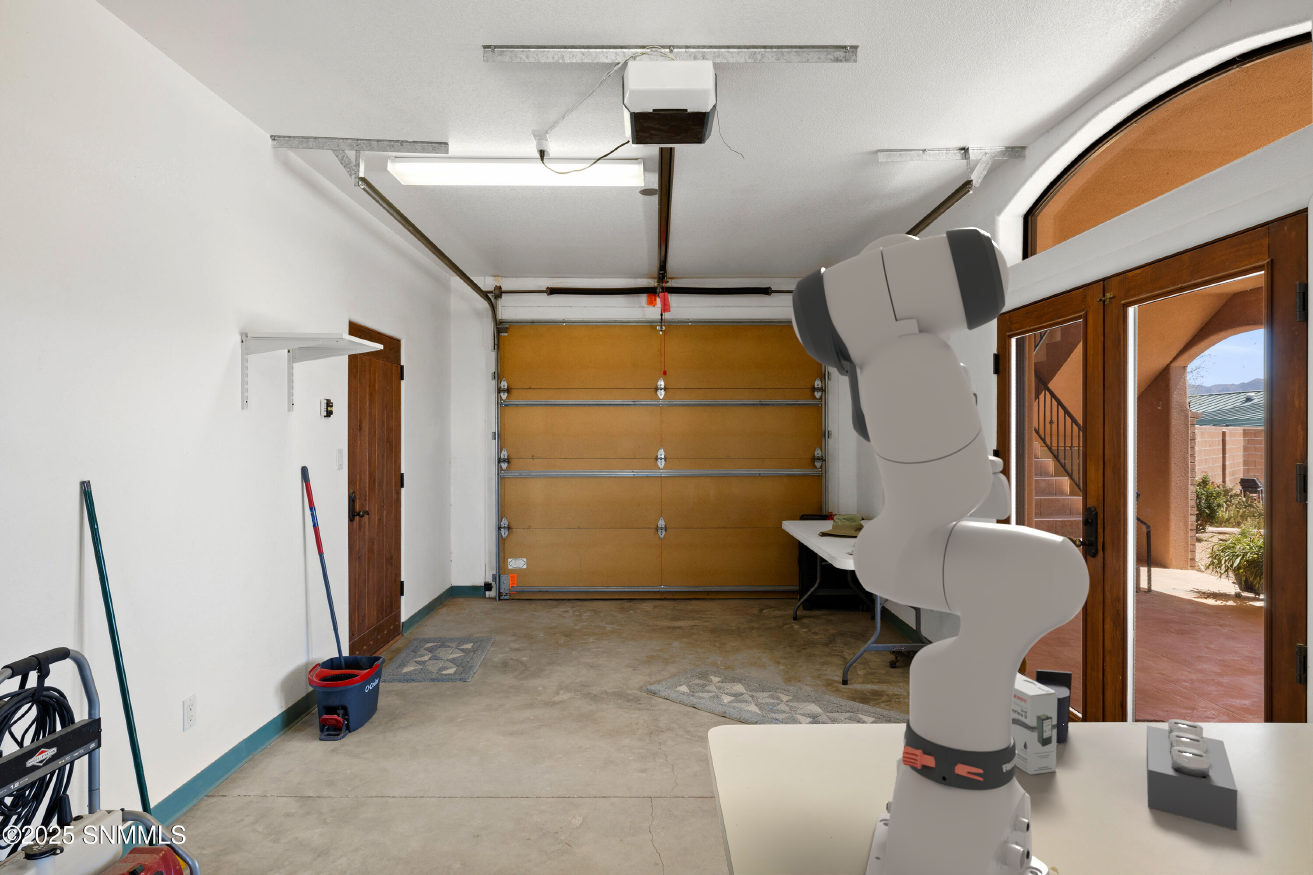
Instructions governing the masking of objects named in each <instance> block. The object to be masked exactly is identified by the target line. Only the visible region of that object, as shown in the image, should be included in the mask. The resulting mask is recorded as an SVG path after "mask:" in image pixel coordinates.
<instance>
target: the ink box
mask: <svg viewBox="0 0 1313 875" xmlns="http://www.w3.org/2000/svg"><path fill="white" fill-rule="evenodd" d="M1012 736H1013V738H1014V739H1015V744H1016V751H1017V762H1016V768H1017V767H1018V768H1019V769H1020V770H1022V771H1024V772H1025V773H1027V774H1028V775H1038V774H1039V775H1040V774H1045V773H1051V772H1056V770H1057V744H1056V737H1057V693H1056V692H1055V691H1054V690H1052V689H1050V688H1048V687H1046V686H1044V685H1042V684H1040V683H1037V682H1035V680H1033V679H1031V678H1029V677H1027V676H1025V675H1022V674H1021V673H1017V676H1016V681H1015V687H1014V696H1013V709H1012Z"/></svg>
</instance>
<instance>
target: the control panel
mask: <svg viewBox="0 0 1313 875" xmlns="http://www.w3.org/2000/svg"><path fill="white" fill-rule="evenodd" d="M1203 740H1205V741H1206V754H1207V755H1208V756H1209V758H1210V769H1209V775H1208V776H1203V777H1202V778H1201V777H1197V776H1192V775H1188V774H1184V773H1179V772H1176V769H1175V768H1173V767H1172V765H1171V751H1170V737H1169V736H1168V728H1167V729H1166V728H1163V727H1158V726H1153V725H1146V783H1147V784H1146V785H1147V789H1146V790H1147V807H1148V808H1151V809H1153V810H1154V809H1155V810H1158V811H1161V812H1165V813H1170V814H1174V815H1177V816H1181V817H1184V818H1189V819H1193V820H1195V821H1201V822H1204V823H1207V822H1208V824H1211V825H1217V826H1219V827H1223V828H1227V829H1231V830H1234V831H1237V828H1238V823H1237V822H1238V788H1237V785H1236V781H1235V778H1234V774H1233V770H1232V767H1231V764H1230V760H1229V757H1228V753H1227V750H1226V747H1225V743H1224V740H1221V739H1216V738H1211V737H1206V736H1203Z"/></svg>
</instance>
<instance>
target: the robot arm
mask: <svg viewBox="0 0 1313 875" xmlns="http://www.w3.org/2000/svg"><path fill="white" fill-rule="evenodd" d="M1009 276H1010V274H1009V267H1008V264H1007V261H1006V258H1005V255H1004V254H1003V252H1002V251H1001V249H1000V248H999V245H997V243H996V242H994V241H993V239H992V237H991V235H990V233H987V232H986V231H984V230H982V229H980V228H977V227H960V228H953V229H948V230H946V232H945V234H938V235H932V236H927V237H922V238H918V237H916V236H913V235H909V234H905V233H895V234H890V235H889V234H888V235H884V236H882V237H879V238H877V239H876V240H873V241H872V242H870V243H869V244H868V245H867V246H865V247H864V248H863V249H862V251H861V252H860V253H859V254H857V255H855V256H852V257H850V258H847V259H845V260H843V261H839V263H836V264H834V265H831V266H830V267H828V268H824V267H820V268H818V269H816V270H814V271H812V272H810V273H808V274H807V275H806V276H804V277H802V278H801V279H800V280H798V281H797V282H796V285H795V287H794V289H793V291H792V295H791V299H792V300H791V302H792V303H791V322H792V323H791V324H792V327H793V330H794V332H795V335H796V337H797V338H798V341H799V342H800V343H801V345H802V346H803V349H804V350H805V351H806V353H807V355H809V356H811V358H813V359H814V360H815V361H817V362H818V363H819V364H822V365H823V366H826V367H828V368H834V369H836V370H837V372H838V374H839V375H840V376H842V377H847V380H848V386H849V393H850V401H851V402H850V403H851V405H850V419H851V420H850V421H851V425H852V429H853V430H854V432H855V433H856V434H858V435H859V437H861V438H862V439H863V440H865V442H868V443H870V444H871V448H872V451H873V453H874V458H875V460H876V465H877V468H878V470H879V471H878V472H879V475H880V478H881V484H882V486H881V495H880V507H881V508H882V510H881V512H880V514H878V516H876V517H874V518H873V519H871V520H870V521H869V522H867V523H866V525H864V527H863V528H862V529H861V530H860V532H859V533H858V535H857V537H856V539H855V542H854V546H853V551H852V563H853V567H854V571H855V575H856V577H857V579H858V581H859V582H860V584H861V585H862V587H863V588H864V589H865V590H866V591H868V592H870V593H872V594H874V595H877V596H879V597H881V598H884V599H887V600H890V601H892V602H894V603H897V604H899V605H904V606H910V607H915V608H920V609H921V608H922V609H927V610H931V611H936V612H937V611H938V612H945V613H950V614H954V615H956V616H959V617H960V618H959V619H960V627H959V632H958V634H957V635H956V636H953V637H948V638H945V639H941V640H939V641H936V642H933V643H930V644H928V645H925V646H924V647H923V648H921V649H920V650H919V651H918V652H917V653H916V654H915V655H914V657H913V659H912V661H911V664H910V667H909V717H908V719H907V721H906V724H905V730H904V733H903V750H902V753H901V754H902V756H901V757H900V758H898V759H896V776H895V783H894V788H893V794H892V800H888V801H887V803H886V806H885V807H886V811H887V812H882V813H880V814H878V815H877V820H876V824H875V829H874V833H873V838H872V843H871V847H870V852H869V856H868V861H867V866H866V869H865V870H866V871H865V875H1050V869H1049V867H1048V866H1047V865H1046V864H1045V863H1044V862H1043V861H1041V860H1039V859H1038V858H1037V857H1035V856H1034V855H1033V842H1032V841H1033V839H1032V838H1033V836H1032V832H1033V831H1032V810H1031V808H1032V806H1031V804H1032V803H1031V797H1030V795H1029V794H1028V793H1027V791H1026V790H1024V788H1023V787H1022V786H1021V784H1020V783H1019V782H1018V779H1017V778H1016V776H1015V775H1016V774H1017V766H1016V762H1017V751H1016V744H1015V739H1014V738H1013V736H1012V709H1013V696H1014V687H1015V681H1016V676H1017V674H1018V672H1019V668H1020V667H1021V664H1022V662H1023V660H1024V658H1025V656H1026V655H1027V653H1028V652H1029V650H1030V649H1031V648H1032V647H1033V646H1034V645H1035V644H1036V643H1037V642H1038V641H1039V640H1041V639H1042V637H1044V636H1046V635H1047V634H1048V633H1050V632H1052V631H1054V630H1055V629H1057V628H1059V627H1061V626H1064V625H1065V624H1068V622H1070V621H1071V620H1073V619H1074V618H1075V617H1076V615H1078V614H1079V612H1080V611H1081V609H1082V608H1083V607H1084V605H1085V603H1086V601H1087V598H1088V595H1089V590H1090V574H1089V570H1088V565H1087V563H1086V560H1085V559H1084V556H1083V555H1082V553H1081V552H1080V550H1079V549H1078V548H1077V546H1076V545H1075V544H1074V543H1073V542H1072V541H1071V540H1070V538H1068V537H1065V536H1062V535H1058V534H1054V533H1051V532H1048V531H1045V530H1041V529H1037V528H1033V527H1029V526H1025V525H1018V524H1015V525H1014V524H1008V523H1007V524H1006V523H1005V524H1004V523H994V522H983V521H981V522H980V521H971V520H966V519H965V520H964V518H976V519H977V518H978V519H979V518H980V519H990V520H1005V519H1007V518H1008V517H1009V516H1010V515H1011V513H1012V499H1011V498H1012V497H1011V491H1010V484H1009V481H1008V479H1007V477H1006V476H1005V475H1004V474H1002V473H1001V471H1002V470H1003V469H1004V461H1003V460H1002V458H999V457H996V456H992V455H989V452H988V448H987V443H986V439H985V434H984V431H983V426H982V421H981V417H980V416H981V415H980V413H979V409H978V394H977V393H976V392H975V391H974V390H973V388H972V380H971V376H970V375H971V374H970V370H969V367H968V366H967V365H966V364H963V363H961V361H960V360H959V358H958V356H957V354H956V352H955V350H954V349H953V347H952V346H951V344H949V341H950V339H951V336H952V335H953V334H955V333H958V332H961V331H964V330H966V329H967V330H968V331H973V330H975V329H978V328H980V327H982V326H984V325H986V324H988V323H990V322H992V321H994V320H996V319H997V318H998V317H999V316H1000V315H1001V313H1002V311H1003V309H1004V308H1005V306H1006V297H1007V294H1008V291H1009V284H1010V283H1009V282H1010V278H1009Z"/></svg>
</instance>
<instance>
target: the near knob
mask: <svg viewBox="0 0 1313 875" xmlns="http://www.w3.org/2000/svg"><path fill="white" fill-rule="evenodd" d="M1171 765H1172V767H1173V768H1175V769H1176V770H1178V772H1179V773H1184V774H1188V775H1192V776H1197V777H1201V778H1203V777H1204V776H1208V775H1209V769H1210V758H1209V756H1208V755H1207V754H1205V753H1203V752H1201V751H1198V750H1195V749H1191V748H1187V747H1173V748H1172V749H1171ZM1176 770H1175V771H1176Z"/></svg>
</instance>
